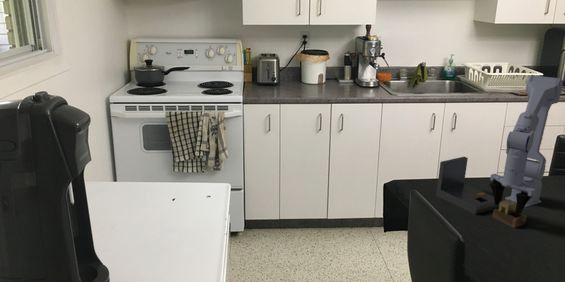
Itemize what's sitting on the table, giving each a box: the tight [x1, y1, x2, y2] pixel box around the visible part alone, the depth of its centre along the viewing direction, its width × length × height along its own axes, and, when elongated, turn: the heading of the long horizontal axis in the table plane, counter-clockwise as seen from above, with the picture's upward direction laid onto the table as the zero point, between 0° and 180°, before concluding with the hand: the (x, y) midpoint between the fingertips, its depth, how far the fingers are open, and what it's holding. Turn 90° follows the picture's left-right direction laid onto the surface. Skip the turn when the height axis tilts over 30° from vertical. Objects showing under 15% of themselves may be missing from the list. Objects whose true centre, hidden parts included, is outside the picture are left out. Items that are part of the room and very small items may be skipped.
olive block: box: [498, 199, 517, 215], centre depth 155 cm, size 4×3×6 cm
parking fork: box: [491, 208, 527, 229], centre depth 155 cm, size 5×8×3 cm
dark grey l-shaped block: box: [435, 156, 499, 215], centre depth 167 cm, size 12×17×13 cm
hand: (507, 208), depth 155 cm, fingers open, 7 cm apart
